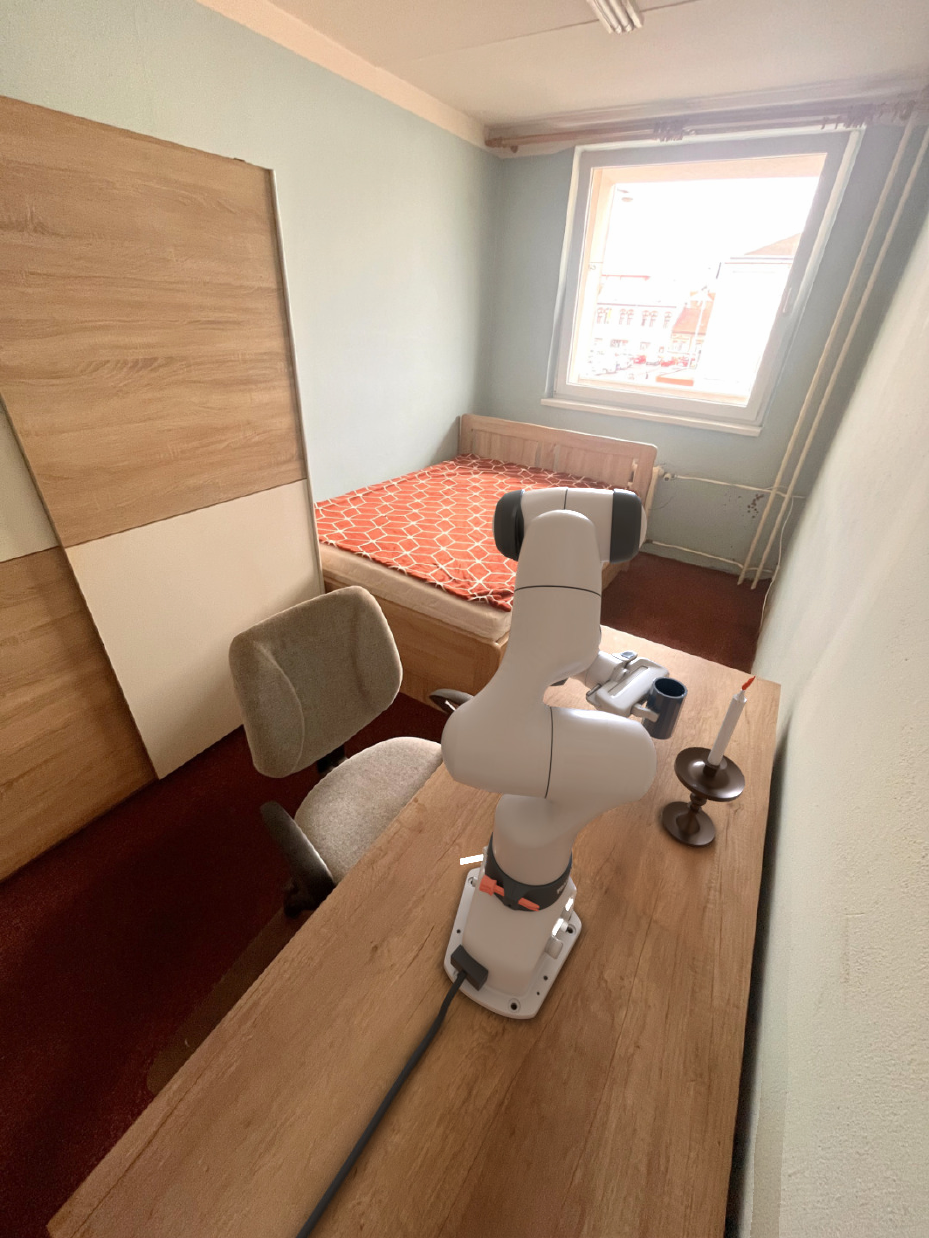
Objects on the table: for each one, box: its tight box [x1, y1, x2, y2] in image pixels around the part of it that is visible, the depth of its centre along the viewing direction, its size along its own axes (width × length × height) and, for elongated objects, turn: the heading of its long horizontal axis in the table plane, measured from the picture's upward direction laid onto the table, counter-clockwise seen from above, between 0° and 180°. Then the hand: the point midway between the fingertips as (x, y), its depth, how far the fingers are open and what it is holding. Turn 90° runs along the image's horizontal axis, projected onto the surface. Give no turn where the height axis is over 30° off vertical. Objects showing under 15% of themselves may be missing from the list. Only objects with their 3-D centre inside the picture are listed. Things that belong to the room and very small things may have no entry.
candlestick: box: [660, 675, 756, 849], centre depth 83 cm, size 11×11×35 cm
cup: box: [640, 676, 689, 741], centre depth 102 cm, size 7×7×11 cm
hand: (668, 708), depth 102 cm, fingers closed on cup, 6 cm apart
